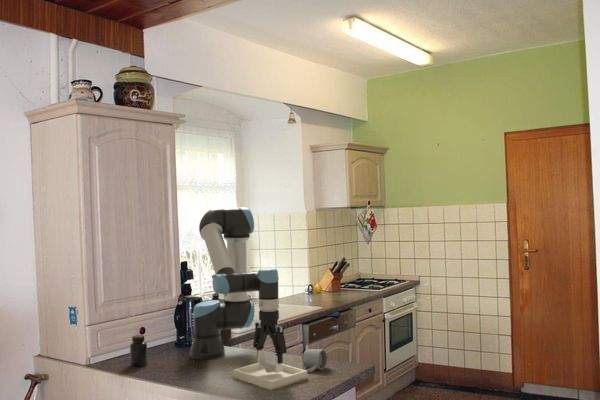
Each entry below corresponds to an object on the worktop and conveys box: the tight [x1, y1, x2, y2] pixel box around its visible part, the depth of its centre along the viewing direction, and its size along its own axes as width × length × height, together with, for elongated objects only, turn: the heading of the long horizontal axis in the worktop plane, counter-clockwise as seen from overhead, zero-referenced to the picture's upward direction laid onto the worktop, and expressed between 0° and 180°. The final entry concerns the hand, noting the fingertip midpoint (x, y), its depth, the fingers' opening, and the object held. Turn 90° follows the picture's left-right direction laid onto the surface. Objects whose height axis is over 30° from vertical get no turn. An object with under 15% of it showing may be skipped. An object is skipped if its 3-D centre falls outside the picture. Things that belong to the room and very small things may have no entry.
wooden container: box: [202, 292, 232, 341], centre depth 280 cm, size 15×15×22 cm
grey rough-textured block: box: [263, 355, 275, 373], centre depth 212 cm, size 10×6×6 cm, turn 170°
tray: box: [232, 362, 308, 391], centre depth 212 cm, size 22×18×3 cm
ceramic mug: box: [301, 348, 328, 373], centre depth 223 cm, size 11×8×8 cm
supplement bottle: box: [129, 334, 148, 368], centre depth 233 cm, size 7×7×12 cm
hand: (269, 369), depth 212 cm, fingers closed on grey rough-textured block, 9 cm apart
